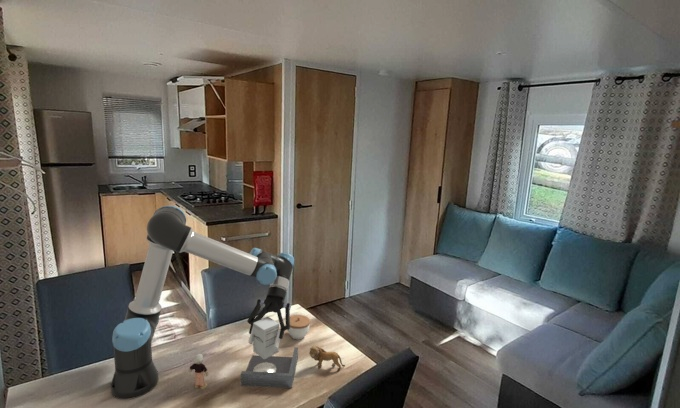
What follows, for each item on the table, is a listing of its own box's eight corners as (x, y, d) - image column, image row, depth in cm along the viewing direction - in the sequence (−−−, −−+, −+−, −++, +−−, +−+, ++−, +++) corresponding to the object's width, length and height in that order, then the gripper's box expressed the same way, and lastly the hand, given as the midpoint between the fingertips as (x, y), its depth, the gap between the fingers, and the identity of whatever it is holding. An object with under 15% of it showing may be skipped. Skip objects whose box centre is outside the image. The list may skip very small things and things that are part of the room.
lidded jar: (308, 342, 162) (309, 323, 161) (284, 341, 162) (285, 322, 161) (310, 330, 173) (311, 312, 171) (288, 329, 173) (288, 311, 171)
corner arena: (240, 385, 133) (240, 373, 132) (252, 356, 151) (252, 345, 150) (291, 388, 133) (292, 376, 132) (297, 358, 151) (298, 347, 150)
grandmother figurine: (211, 382, 134) (210, 352, 132) (208, 389, 130) (207, 358, 128) (191, 381, 134) (189, 351, 132) (186, 388, 130) (185, 357, 128)
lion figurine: (308, 370, 144) (309, 350, 142) (309, 362, 149) (309, 342, 147) (345, 371, 144) (346, 351, 143) (344, 362, 150) (345, 343, 148)
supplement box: (252, 351, 141) (252, 322, 138) (268, 344, 146) (268, 315, 143) (263, 360, 136) (263, 330, 133) (279, 352, 141) (279, 322, 139)
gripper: (305, 295, 150) (293, 351, 138) (255, 289, 154) (238, 343, 142) (302, 289, 144) (289, 347, 132) (249, 282, 148) (232, 338, 136)
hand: (263, 345), depth 137 cm, fingers closed on supplement box, 10 cm apart
